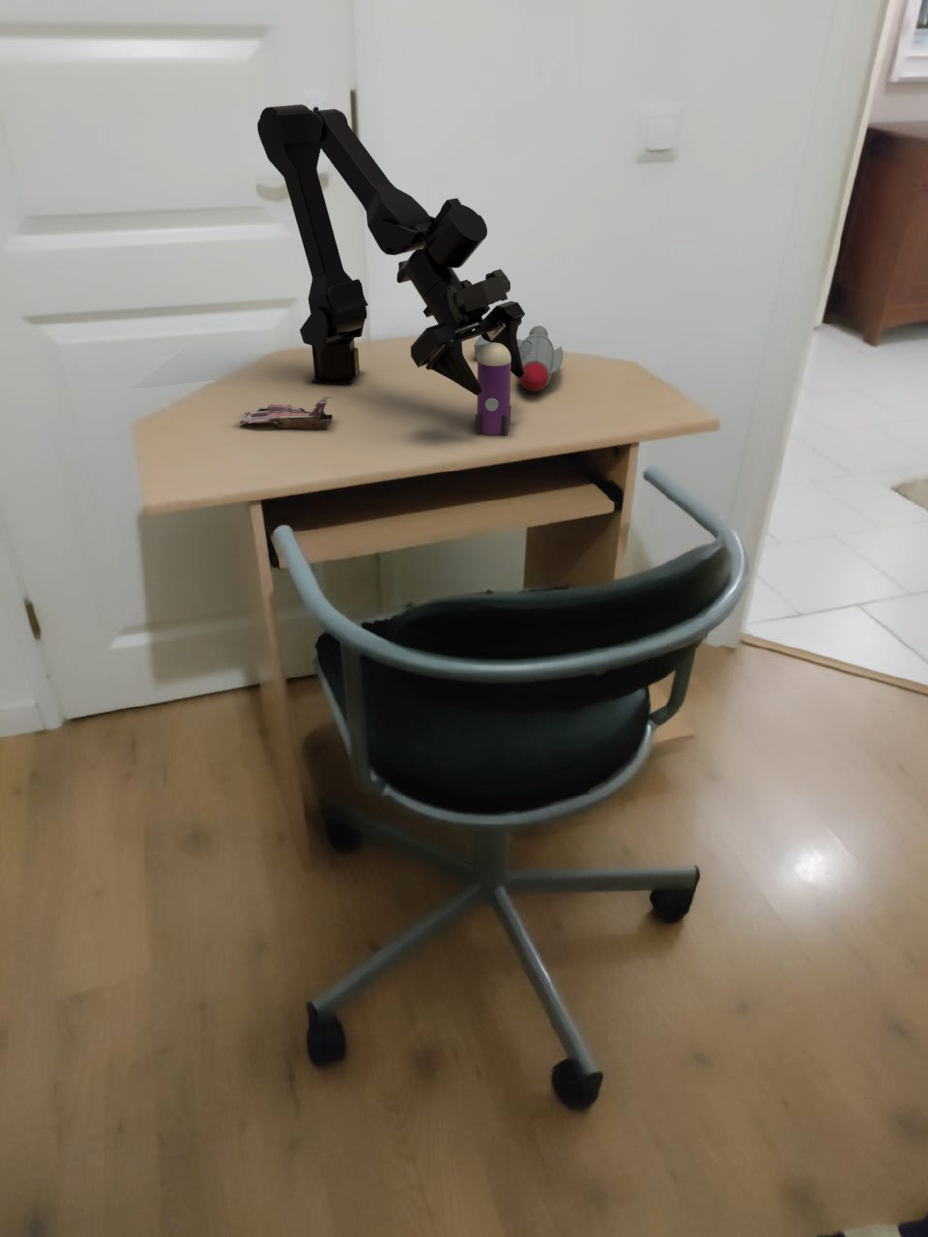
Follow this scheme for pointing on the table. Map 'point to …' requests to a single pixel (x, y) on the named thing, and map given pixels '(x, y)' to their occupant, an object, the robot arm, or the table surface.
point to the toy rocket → (494, 390)
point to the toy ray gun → (534, 358)
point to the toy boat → (291, 415)
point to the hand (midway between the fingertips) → (501, 384)
